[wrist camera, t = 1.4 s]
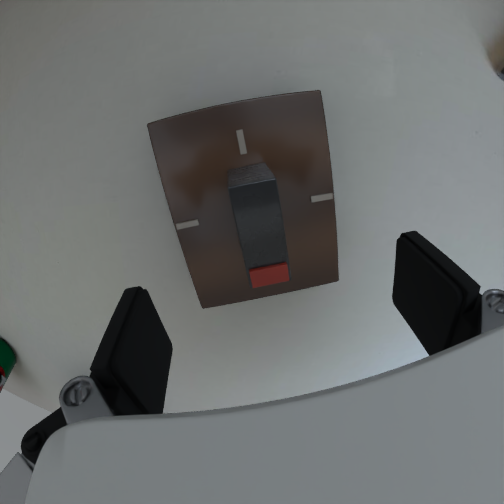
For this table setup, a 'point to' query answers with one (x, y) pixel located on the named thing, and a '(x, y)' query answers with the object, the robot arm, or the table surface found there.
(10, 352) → the soda can
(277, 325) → the table surface
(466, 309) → the robot arm
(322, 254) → the panel
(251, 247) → the rotary selector knob
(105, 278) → the table surface
